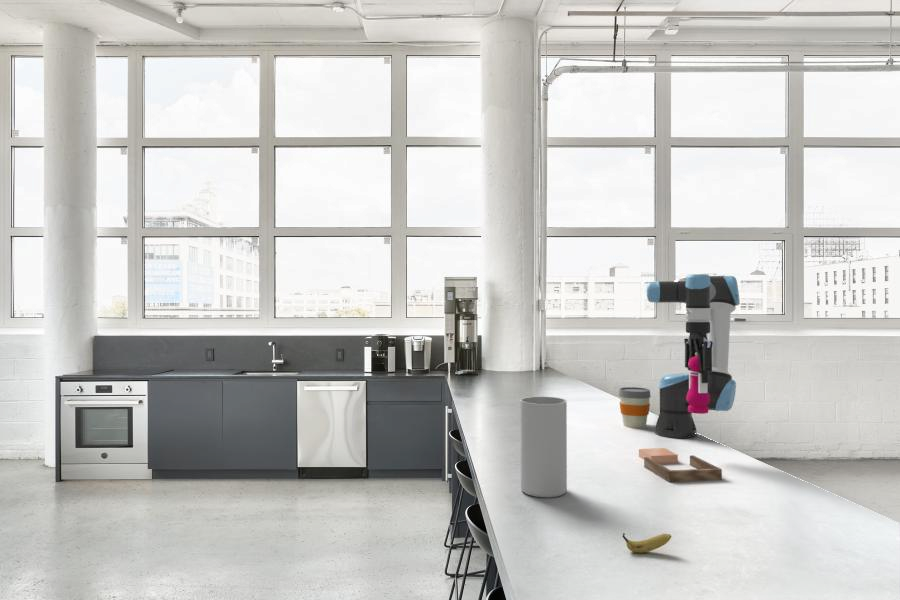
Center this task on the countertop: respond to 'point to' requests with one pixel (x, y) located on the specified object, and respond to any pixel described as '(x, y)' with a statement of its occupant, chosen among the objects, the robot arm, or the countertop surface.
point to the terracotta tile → (659, 455)
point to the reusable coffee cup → (634, 406)
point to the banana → (647, 543)
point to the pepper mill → (696, 390)
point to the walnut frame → (686, 471)
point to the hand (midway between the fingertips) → (698, 391)
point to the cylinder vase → (544, 446)
